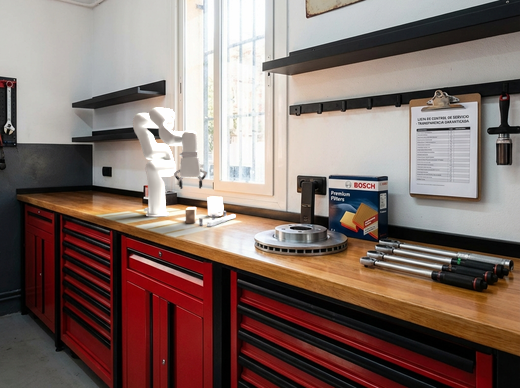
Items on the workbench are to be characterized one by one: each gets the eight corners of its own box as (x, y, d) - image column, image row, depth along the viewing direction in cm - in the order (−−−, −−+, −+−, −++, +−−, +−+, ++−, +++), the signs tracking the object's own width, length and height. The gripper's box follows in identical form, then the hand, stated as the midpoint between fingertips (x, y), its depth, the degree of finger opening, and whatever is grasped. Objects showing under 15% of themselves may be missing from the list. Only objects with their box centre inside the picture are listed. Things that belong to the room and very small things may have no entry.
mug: (229, 216, 230) (228, 198, 229) (216, 218, 224) (216, 199, 223) (217, 214, 239) (217, 196, 238) (205, 215, 234) (204, 197, 233)
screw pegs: (198, 225, 201) (198, 218, 201) (224, 217, 226) (224, 211, 226) (201, 225, 200) (201, 218, 200) (226, 217, 226) (226, 211, 225)
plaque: (185, 223, 209) (185, 209, 208) (188, 220, 219) (187, 207, 218) (194, 223, 209) (194, 209, 208) (196, 220, 219) (196, 207, 218)
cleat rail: (207, 226, 199) (207, 222, 199) (232, 217, 225) (232, 214, 225) (210, 226, 198) (210, 222, 198) (235, 217, 224) (235, 214, 224)
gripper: (171, 155, 206) (172, 189, 208) (206, 155, 207) (207, 188, 209) (174, 155, 214) (175, 188, 215) (207, 155, 214) (208, 187, 216)
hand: (190, 188), depth 212 cm, fingers open, 9 cm apart
